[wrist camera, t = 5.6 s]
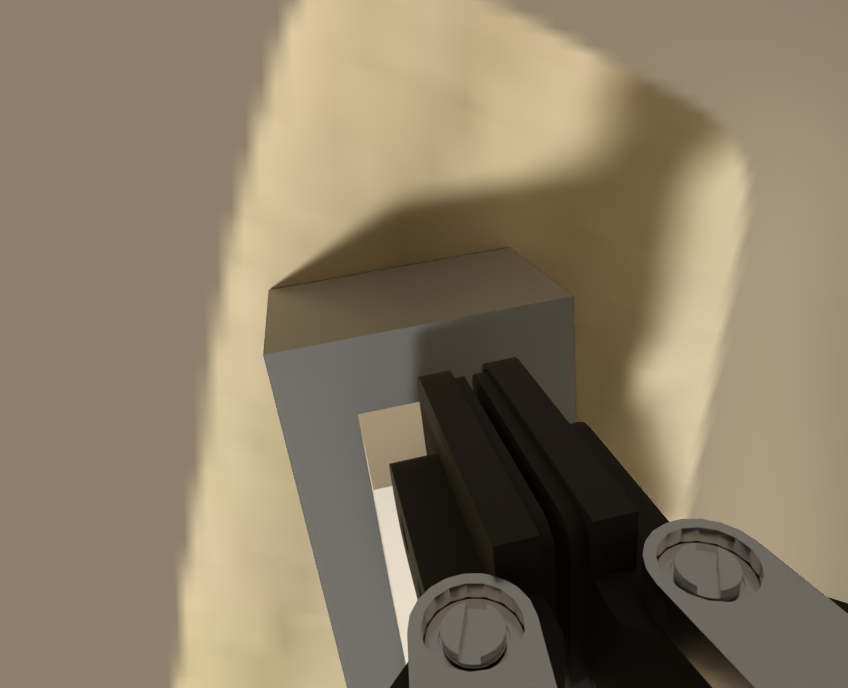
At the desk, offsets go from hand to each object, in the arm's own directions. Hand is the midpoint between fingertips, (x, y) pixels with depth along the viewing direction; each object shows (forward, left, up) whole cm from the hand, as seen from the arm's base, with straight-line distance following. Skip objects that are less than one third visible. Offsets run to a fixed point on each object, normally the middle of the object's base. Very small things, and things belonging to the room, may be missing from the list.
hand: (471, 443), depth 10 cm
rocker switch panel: (-7, +6, -8) cm, 13 cm away
